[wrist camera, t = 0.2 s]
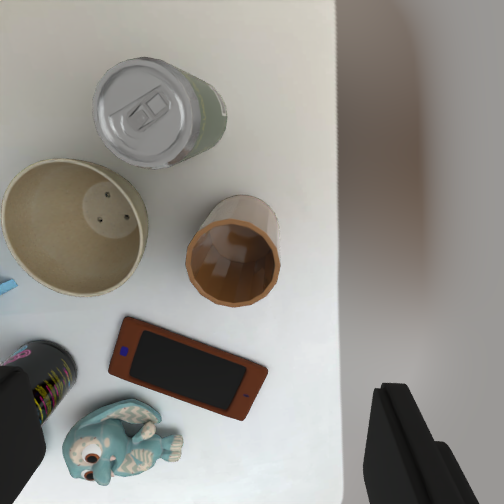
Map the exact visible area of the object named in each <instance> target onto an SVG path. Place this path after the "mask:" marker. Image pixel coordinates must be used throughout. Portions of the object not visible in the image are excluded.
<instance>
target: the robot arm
mask: <svg viewBox="0 0 504 504" xmlns="http://www.w3.org/2000/svg"><path fill="white" fill-rule="evenodd" d="M45 452H46V443H45V439H44V435H43V431H42V428H41V424H40V420H39V416H38V412H37V408H36V404H35V400H34V396H33V392H32V388H31V384H30V380H29V376H28V374H27V373H26V372H24V371H23V369H22V368H21V367H19V366H0V504H13V502H14V501H15V499H16V498H17V497H18V495H19V494H20V492H21V491H22V489H23V488H24V486H25V485H26V484H27V482H28V481H29V479H30V478H31V476H32V475H33V473H34V472H35V470H36V469H37V468H38V466H39V465H40V463H41V462H42V460H43V458H44V456H45ZM363 475H364V481H365V485H366V489H367V494H368V497H369V502H370V504H479V502H478V500H477V499H476V497H475V495H474V493H473V491H472V489H471V487H470V485H469V483H468V481H467V479H466V478H465V476H464V474H463V472H462V470H461V468H460V466H459V464H458V462H457V461H456V459H455V457H454V455H453V453H452V451H451V449H450V448H449V446H448V445H447V444H446V443H445V442H440V441H434V439H433V437H432V435H431V433H430V431H429V429H428V427H427V425H426V423H425V421H424V419H423V417H422V415H421V412H420V410H419V408H418V406H417V404H416V402H415V400H414V398H413V396H412V394H411V392H410V390H409V388H408V386H407V385H406V384H400V383H382V385H381V388H380V389H379V388H375V389H374V392H373V399H372V406H371V413H370V420H369V427H368V434H367V441H366V448H365V455H364V462H363Z"/></svg>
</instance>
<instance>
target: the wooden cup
mask: <svg viewBox="0 0 504 504" xmlns="http://www.w3.org/2000/svg"><path fill="white" fill-rule="evenodd" d="M185 265H186V269H187V272H188V276H189V279H190V282H191V283H192V284H193V285H194V287H195V288H196V289H197V290H198V292H199V293H200V294H201V295H202V296H204V297H205V298H207V299H209V300H210V301H212V302H214V303H215V304H218V305H223V306H228V307H241V306H247V305H252V304H254V303H255V302H257V301H259V300H260V299H262V298H264V297H266V296H267V295H268V293H269V292H270V291H271V289H272V288H273V287H274V285H275V284H276V282H277V279H278V275H279V271H280V265H281V264H280V230H279V224H278V220H277V218H276V215H275V213H274V212H273V210H272V209H271V208H270V207H269V206H268V205H267V204H266V203H265V202H263V201H262V200H260V199H258V198H256V197H252V196H248V195H237V196H232V197H229V198H227V199H225V200H223V201H221V202H220V203H219V204H218V205H216V206H215V207H214V209H213V210H212V212H211V213H210V214H209V216H208V217H207V219H206V220H205V221H204V223H203V224H202V226H201V227H200V229H199V230H198V231H197V233H196V234H195V236H194V238H193V239H192V241H191V242H190V244H189V245H188V248H187V254H186V262H185Z"/></svg>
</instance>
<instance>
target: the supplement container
mask: <svg viewBox="0 0 504 504" xmlns="http://www.w3.org/2000/svg"><path fill="white" fill-rule="evenodd" d="M0 366H19V367H21V368H22V369H23V371H24V372H26V373H27V374H28V376H29V380H30V384H31V388H32V392H33V396H34V400H35V404H36V408H37V412H38V416H39V420H40V424H41V427H42V426H43V425H44V423H45V422H46V421H47V419H48V418H49V417H50V416H51V414H52V413H53V412H54V410H55V409H56V408H57V406H58V405H59V404H60V402H61V401H62V400H63V399H64V397H65V396H66V395H67V393H68V392H69V391H70V389H71V388H72V387H73V385H74V384H75V381H76V377H77V369H76V365H75V362H74V360H73V358H72V357H71V355H70V354H69V353H68V352H67V351H66V350H65V349H63V348H62V347H60V346H58V345H56V344H54V343H51V342H46V341H34V342H30V343H27V344H25V345H23V346H21V347H20V348H19V349H18V350H17V351H15V352H14V353H13V354H12V355H11V356H10V357H9V358H8V359H6V360H5V361H4V362H3V363H2V364H1V365H0Z"/></svg>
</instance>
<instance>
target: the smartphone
mask: <svg viewBox="0 0 504 504" xmlns="http://www.w3.org/2000/svg"><path fill="white" fill-rule="evenodd" d="M108 372H109V374H111V375H114V376H116V377H119V378H121V379H124V380H126V381H129V382H132V383H134V384H137V385H140V386H143V387H146V388H148V389H151V390H154V391H157V392H160V393H162V394H165V395H168V396H171V397H174V398H176V399H179V400H182V401H185V402H188V403H190V404H193V405H196V406H199V407H202V408H204V409H207V410H210V411H213V412H216V413H218V414H221V415H224V416H227V417H230V418H233V419H237V420H240V421H243V420H244V419H245V418H246V416H247V414H248V412H249V410H250V408H251V406H252V404H253V402H254V400H255V398H256V396H257V394H258V392H259V390H260V388H261V386H262V384H263V382H264V380H265V378H266V376H267V374H268V369H267V368H266V367H263V366H261V365H258V364H256V363H254V362H251V361H249V360H246V359H243V358H241V357H238V356H235V355H233V354H230V353H227V352H224V351H222V350H219V349H216V348H214V347H211V346H208V345H206V344H203V343H200V342H197V341H195V340H192V339H189V338H187V337H184V336H181V335H179V334H176V333H173V332H170V331H168V330H165V329H162V328H160V327H157V326H154V325H152V324H149V323H146V322H143V321H140V320H137V319H134V318H131V317H125V318H124V320H123V322H122V325H121V329H120V332H119V335H118V339H117V342H116V345H115V348H114V352H113V355H112V358H111V362H110V365H109V368H108Z"/></svg>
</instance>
